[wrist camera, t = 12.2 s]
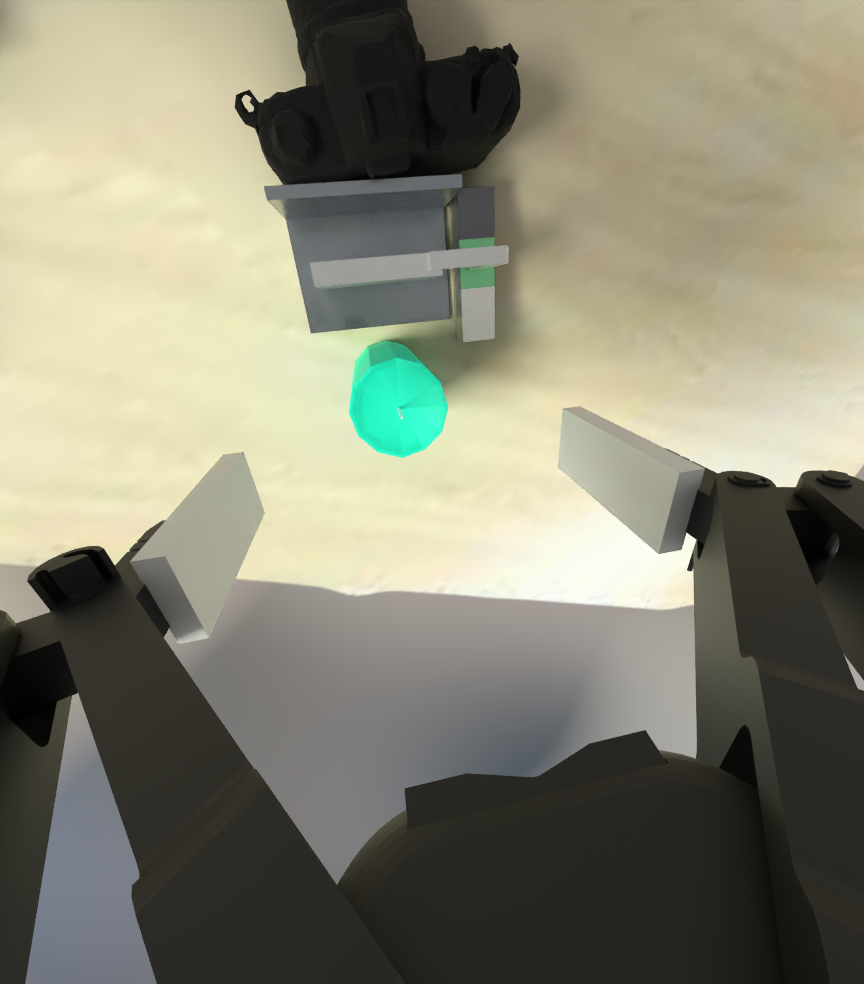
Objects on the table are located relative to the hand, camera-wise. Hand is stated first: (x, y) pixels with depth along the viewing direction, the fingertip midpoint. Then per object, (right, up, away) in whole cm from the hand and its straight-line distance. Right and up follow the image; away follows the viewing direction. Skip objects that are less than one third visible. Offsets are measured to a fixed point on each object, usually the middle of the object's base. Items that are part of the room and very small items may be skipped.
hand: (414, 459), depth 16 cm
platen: (-2, +15, +12) cm, 19 cm away
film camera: (-3, +24, +9) cm, 25 cm away
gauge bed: (-2, +15, +13) cm, 20 cm away
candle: (-3, +8, +16) cm, 19 cm away
